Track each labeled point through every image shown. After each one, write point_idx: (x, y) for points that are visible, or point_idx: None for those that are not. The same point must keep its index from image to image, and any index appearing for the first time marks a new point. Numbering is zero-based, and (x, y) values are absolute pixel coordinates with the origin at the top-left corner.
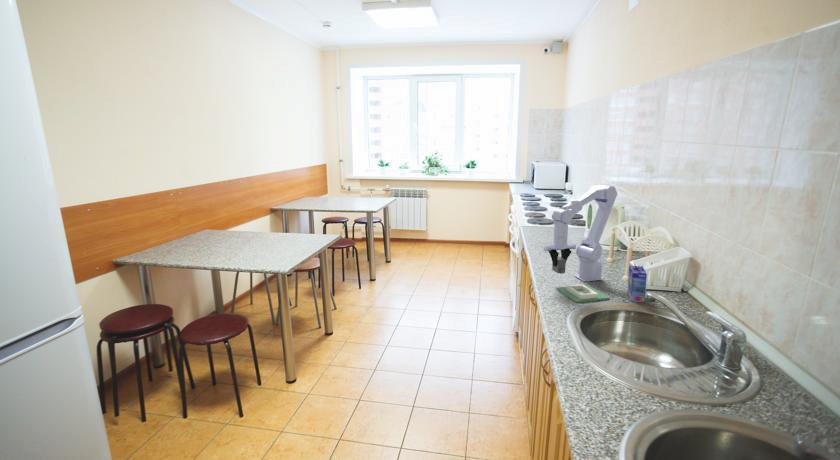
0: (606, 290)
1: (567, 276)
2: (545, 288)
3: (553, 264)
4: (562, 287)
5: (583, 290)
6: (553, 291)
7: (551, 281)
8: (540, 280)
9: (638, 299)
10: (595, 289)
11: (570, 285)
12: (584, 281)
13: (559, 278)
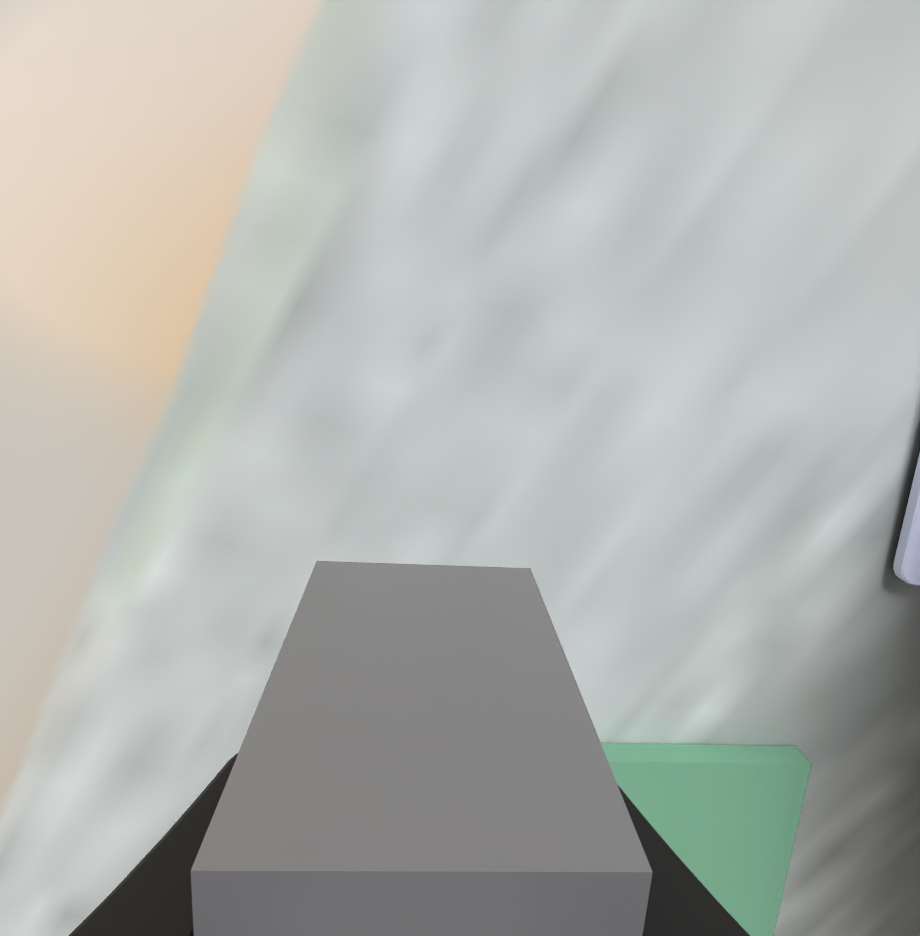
0: (908, 905)
1: (842, 243)
2: (131, 655)
3: None
4: None
5: None
6: (197, 783)
7: (398, 397)
8: (222, 285)
9: None
10: (770, 924)
11: None
12: (902, 579)
13: (631, 297)
